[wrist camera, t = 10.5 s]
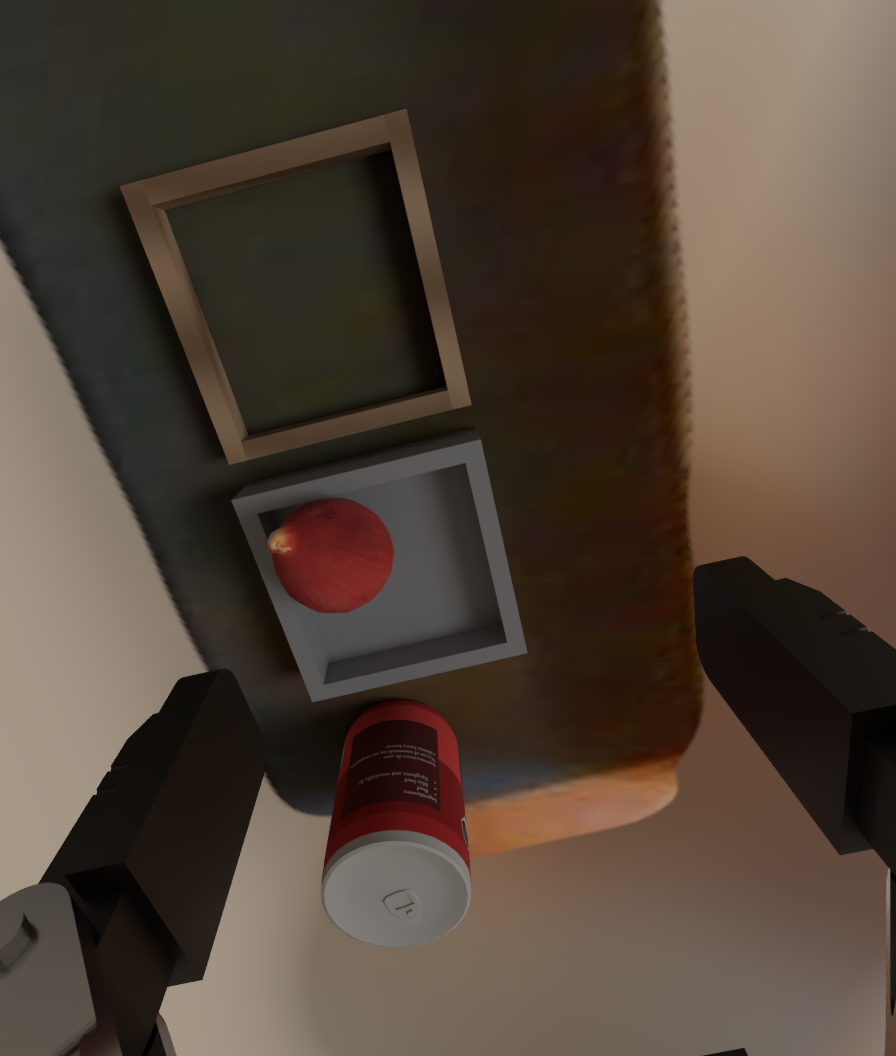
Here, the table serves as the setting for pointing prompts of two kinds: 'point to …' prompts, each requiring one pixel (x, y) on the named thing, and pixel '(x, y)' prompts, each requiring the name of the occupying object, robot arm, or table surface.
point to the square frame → (262, 168)
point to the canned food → (398, 830)
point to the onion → (332, 555)
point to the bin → (399, 567)
